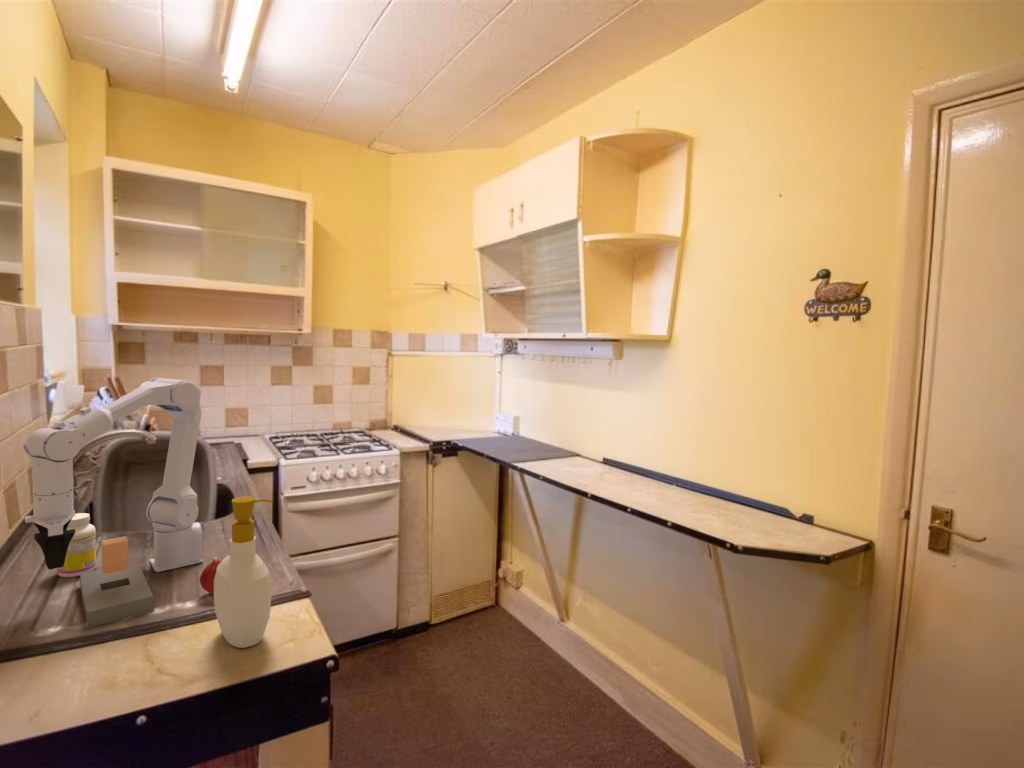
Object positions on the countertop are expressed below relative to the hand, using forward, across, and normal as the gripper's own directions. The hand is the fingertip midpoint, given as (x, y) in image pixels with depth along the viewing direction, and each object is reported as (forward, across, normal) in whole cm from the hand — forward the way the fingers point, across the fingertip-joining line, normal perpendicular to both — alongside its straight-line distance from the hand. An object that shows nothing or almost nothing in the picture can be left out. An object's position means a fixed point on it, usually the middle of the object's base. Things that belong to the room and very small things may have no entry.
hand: (54, 560), depth 98 cm
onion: (+10, +11, +25) cm, 29 cm away
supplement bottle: (+10, -18, +4) cm, 22 cm away
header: (+10, 0, +9) cm, 14 cm away
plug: (+4, 0, +9) cm, 10 cm away
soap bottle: (+10, +31, +25) cm, 41 cm away
